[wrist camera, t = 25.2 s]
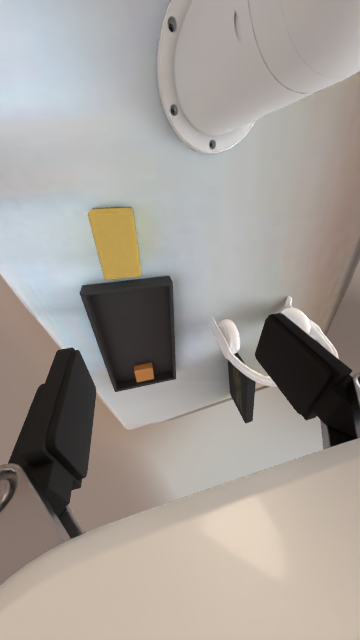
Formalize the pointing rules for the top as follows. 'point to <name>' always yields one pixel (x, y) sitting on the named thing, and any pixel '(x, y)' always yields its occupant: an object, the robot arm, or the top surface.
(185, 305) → the top surface
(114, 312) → the black shallow rectangular tray
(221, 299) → the top surface
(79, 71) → the top surface
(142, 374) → the orange square block
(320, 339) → the headset
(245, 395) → the nameplate
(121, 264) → the sponge
